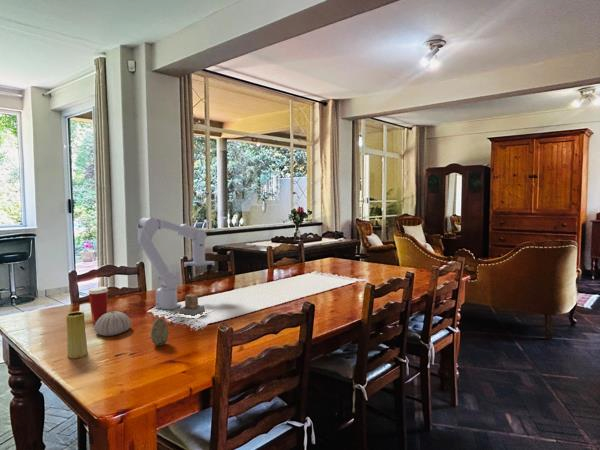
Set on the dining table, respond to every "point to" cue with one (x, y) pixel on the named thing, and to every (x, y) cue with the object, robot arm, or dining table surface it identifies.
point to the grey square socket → (193, 310)
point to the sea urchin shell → (112, 323)
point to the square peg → (191, 301)
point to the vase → (76, 335)
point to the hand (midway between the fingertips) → (199, 280)
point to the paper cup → (98, 302)
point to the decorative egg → (159, 332)
